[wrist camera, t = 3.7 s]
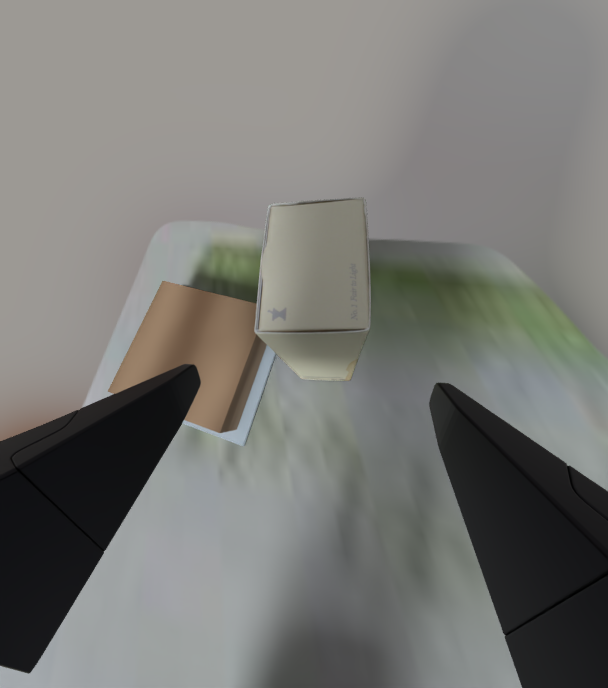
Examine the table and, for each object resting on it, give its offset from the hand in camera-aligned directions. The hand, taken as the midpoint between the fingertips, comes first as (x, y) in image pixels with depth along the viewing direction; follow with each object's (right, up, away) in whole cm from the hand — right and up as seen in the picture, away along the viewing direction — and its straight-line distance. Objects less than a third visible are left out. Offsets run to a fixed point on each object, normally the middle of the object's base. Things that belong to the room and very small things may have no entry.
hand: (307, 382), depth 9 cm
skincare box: (+2, +1, +12) cm, 12 cm away
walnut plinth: (-9, 0, +12) cm, 15 cm away
